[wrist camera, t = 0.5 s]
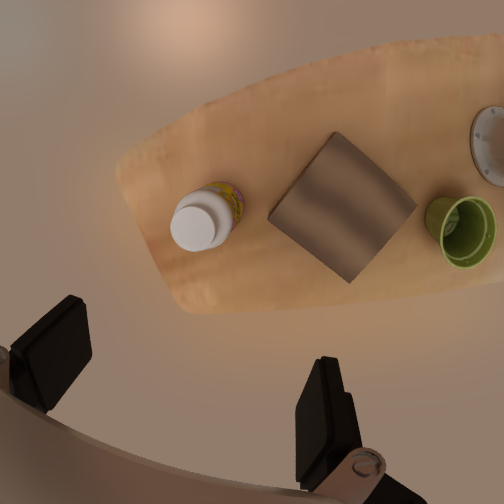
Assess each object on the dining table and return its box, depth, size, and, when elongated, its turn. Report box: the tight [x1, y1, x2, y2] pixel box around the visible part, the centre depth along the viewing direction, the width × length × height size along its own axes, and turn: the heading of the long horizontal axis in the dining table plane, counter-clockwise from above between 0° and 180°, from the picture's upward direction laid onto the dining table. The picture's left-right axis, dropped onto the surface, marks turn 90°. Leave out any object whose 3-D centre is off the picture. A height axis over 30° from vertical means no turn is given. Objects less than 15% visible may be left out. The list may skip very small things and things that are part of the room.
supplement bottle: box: [171, 182, 244, 252], centre depth 35 cm, size 7×7×13 cm
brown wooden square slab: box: [267, 132, 418, 284], centre depth 37 cm, size 14×14×4 cm
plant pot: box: [425, 196, 497, 270], centre depth 33 cm, size 9×9×9 cm
